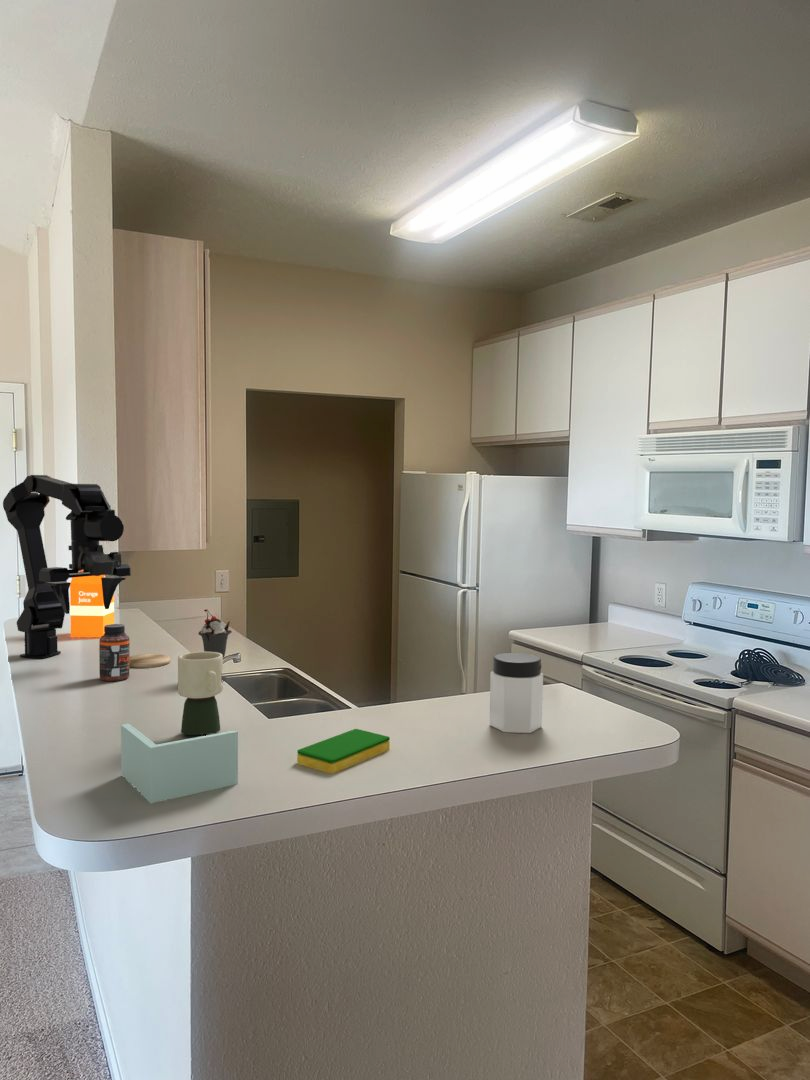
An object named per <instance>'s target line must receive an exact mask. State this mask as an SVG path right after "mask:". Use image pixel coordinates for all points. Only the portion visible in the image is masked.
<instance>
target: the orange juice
mask: <svg viewBox="0 0 810 1080" xmlns="http://www.w3.org/2000/svg"><path fill="white" fill-rule="evenodd" d="M81 571H83V570H81ZM78 572H80V571H78ZM101 577H105V575H100V576H84V577H72V578H70V579H71V581H70V583H71V584H70V587H69V603H70V612H69V614H70V638H71V637H101V636H103V635H104V633H105V632H104V626H105V625H109V624H115V597H114V596H115V595H114V594H115V593H114V594H113V598H112V601H111V604H110V607H109V609H105V607H104V603H103V592H102V581H101Z"/></svg>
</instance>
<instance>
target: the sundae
mask: <svg viewBox="0 0 810 1080" xmlns="http://www.w3.org/2000/svg"><path fill="white" fill-rule="evenodd" d="M204 612H205V613H206V616H207V617H206V619H205V620H204V623H205V624H203V626H201V629H200V630H199V631H198V633H197V635H199V636H201V640H202V644H203V652H217V653H221V654H222V655H223V659H224V658H225V656H226V652H227V651H226V650H227V643H228V642H227V641H228V637H229V635H230V634H231V633H233V632H232V630H230V629H229V627H230V624H231V622H230V621H228V622H227V623H226V624H224V623H225V622H223V621H222V620H221V619H219V618H218V617H217V616H214V615H213V614H211V613H210V611H209V610H208V608H207V609H204ZM209 615H210V616H211V617H210V619H209ZM227 679H228V678H227V676H225V675H222V680H223V681H222V682H224V681H227Z"/></svg>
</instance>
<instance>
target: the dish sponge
mask: <svg viewBox="0 0 810 1080" xmlns="http://www.w3.org/2000/svg"><path fill="white" fill-rule="evenodd" d="M389 750H390V736H387V735H383V734H379V733H375V732H372V731H367V730H362V729H359V728H354V729H351V730H348V731H344V732H342V733H340V734H337V735H335V736H332V737H329V738H327V739H324V740H321V741H319V742H316V743H313V744H310V745H308V746H305V747H303V748H300V749H297V754H296V755H297V760H296V762H297V765H301V766H304V767H307V768H311V769H315V770H317V771H320V772H324V773H328V774H335V773H338V772H340V771H342V770H345V769H346V768H349V767H351V766H354V765H356V764H360V763H361V762H364V761H366V760H368V759H370V758H373V757H375V756H377V755H379V754H382V753H384V752H387V751H389Z"/></svg>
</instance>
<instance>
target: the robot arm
mask: <svg viewBox="0 0 810 1080" xmlns="http://www.w3.org/2000/svg"><path fill="white" fill-rule="evenodd" d="M50 498H52V499H56V500H59V501H61V504H62V506H64V507H66V508H67V509H69V510H71V511H70V512H69V513H68V514H67V515H66V517H65V520H66V521H70V539H71V541H70V543H71V544H70V545H68V546H67V547H68V551H71V563H69V564H68V567H58V566H55V567H48V563H47V562H48V561H47V558H46V557H47V556H46V552H45V548H44V542H43V537H42V532H41V531H42V530H41V525H42V523H43V520H44V518H45V516H46V514H45V512H46V511H45V508H46V507H47V505H48V504H49V503H50ZM2 507H3V510H4V512H5V516H6V519H7V521H8V522H9V524H10V525H11V526H12V527H13V528H14V530H16V532H17V536H18V541H19V545H20V551H21V557H22V563H23V568H24V572H25V578H26V584H27V593H26V594H25V597H24V599H23V602H22V603H23V610H22V612H21V614H20V615H19V617H18V619H17V620H16V627H17V631H18V632H21V633H24V653H21V654H20V655H19V656H20V657H21V658H31V659H33V658H34V659H46V658H49V656H50V657H53V656H56V655H59V654H62V652H61V651H62V650H61V651H60V650H58V635H57V630H58V629H62V628H63V626H64V620H65V616H66V615H69V614H70V584H71V582H70V581H69V582H68V580H69V579H72V577H84V576H100V575H105V577H101V581H102V592H103V603H104V607H105V609H109V607H110V604H111V601H112V598H113V594H115V591H116V589H117V587H118V585H119V584H120V583H121V582H123V581H126V579H127V577H130V576H131V575H132V569H131V567H130V565H129V564H128V563H127V562H126V563H124V562H122V554H121V553H120V552H119V551H113V552H112V551H110V553H105V552H104V547H103V544H100V542H117V541H118V540H119V539H120V538H121V537H122V536H123V534H124V530H125V529H124V527H125V525H124V523H123V522H122V521H123V520H121V519H120V517H119V516H117V515H116V510H115V509H112V508H111V505H110V504H109V502H108V500H107V497H106V496H105V494H104V492H103V490H102V488H101V486H100V484H97V483H72V482H69V481H64V480H60V479H57V478H54V477H51V476H49V475H47V474H30V475H27V476H26V477H25V478H24V480H23V481H21V482H20V483H18V484H17V485H15V486H14V487H12V488H11V489H10V490H9V491H8V493H6V496H4V498H3V502H2ZM81 570H83V571H81ZM78 571H80V572H78Z"/></svg>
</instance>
